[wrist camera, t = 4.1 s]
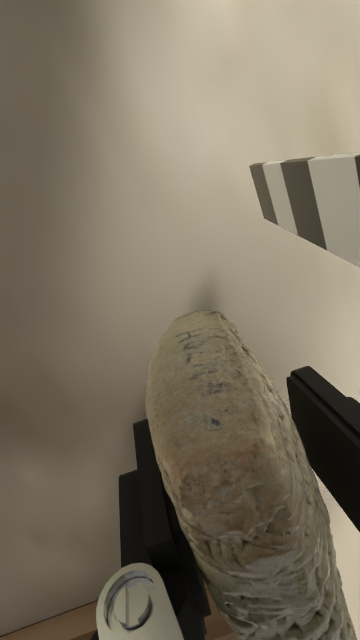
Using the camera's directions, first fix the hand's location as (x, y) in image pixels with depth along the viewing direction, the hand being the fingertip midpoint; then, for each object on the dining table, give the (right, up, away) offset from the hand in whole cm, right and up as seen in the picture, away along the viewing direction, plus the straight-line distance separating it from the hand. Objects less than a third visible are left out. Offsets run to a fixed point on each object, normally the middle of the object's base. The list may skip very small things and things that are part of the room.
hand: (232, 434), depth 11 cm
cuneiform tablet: (0, +2, +1) cm, 2 cm away
